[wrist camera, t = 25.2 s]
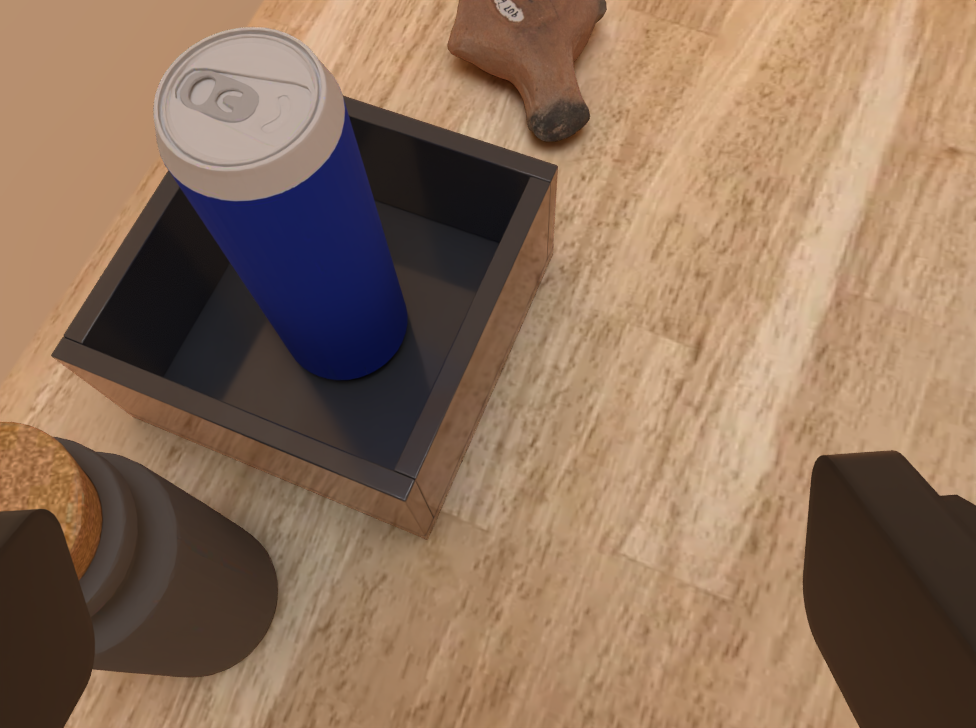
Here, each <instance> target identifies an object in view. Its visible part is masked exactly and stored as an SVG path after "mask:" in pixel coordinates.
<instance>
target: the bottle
mask: <svg viewBox="0 0 976 728" xmlns="http://www.w3.org/2000/svg"><path fill="white" fill-rule="evenodd" d="M30 509H46V510H49V511H50V512H52V513H53V514H54V515H55V516H56V518H57V519H58V521H59V523H60V525H61V527H62V530H63V533H64V536H65V539H66V542H67V545H68V548H69V551H70V555H71V558H72V561H73V564H74V567H75V570H76V573H77V576H78V580H79V583H80V586H81V589H82V592H83V595H84V598H85V601H86V605H87V608H88V611H89V614H90V617H91V620H92V624H93V628H94V634H95V656H94V663H93V668H92V669H96V670H105V671H116V672H128V673H140V674H152V675H163V676H175V677H201V676H208V675H212V674H215V673H218V672H221V671H223V670H226V669H228V668H230V667H232V666H234V665H235V664H237V663H238V662H240V661H241V660H242V659H244V658H245V657H246V656H247V655H248V654H249V653H250V652H251V651H252V650H253V649H254V648H255V647H256V646H257V645H258V643H259V642H260V641H261V639H262V638H263V637H264V635H265V633H266V632H267V630H268V628H269V625H270V623H271V621H272V619H273V616H274V613H275V608H276V602H277V578H276V573H275V569H274V567H273V564H272V561H271V559H270V557H269V555H268V553H267V552H266V550H265V549H264V548H263V546H262V545H261V544H260V543H259V542H258V541H257V540H256V539H255V538H254V537H253V536H252V535H250V534H249V533H248V532H247V531H245V530H244V529H243V528H241V527H240V526H238V525H237V524H235V523H233V522H232V521H230V520H229V519H227V518H226V517H224V516H223V515H221V514H220V513H218V512H217V511H215V510H213V509H212V508H210V507H209V506H207V505H206V504H204V503H203V502H201V501H199V500H198V499H196V498H195V497H193V496H191V495H190V494H188V493H186V492H185V491H183V490H182V489H180V488H178V487H177V486H175V485H174V484H172V483H170V482H169V481H167V480H166V479H164V478H162V477H161V476H159V475H158V474H156V473H154V472H153V471H151V470H150V469H148V468H146V467H145V466H143V465H141V464H139V463H137V462H135V461H132V460H130V459H128V458H125V457H123V456H120V455H116V454H110V453H103V452H95V451H93V450H91V449H89V448H87V447H85V446H83V445H81V444H79V443H76V442H74V441H70V440H66V439H62V438H58V437H52V436H50V435H48V434H47V433H45V432H43V431H42V430H39V429H37V428H34V427H32V426H29V425H25V424H20V423H14V422H0V512H2V511H16V510H30Z"/></svg>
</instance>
